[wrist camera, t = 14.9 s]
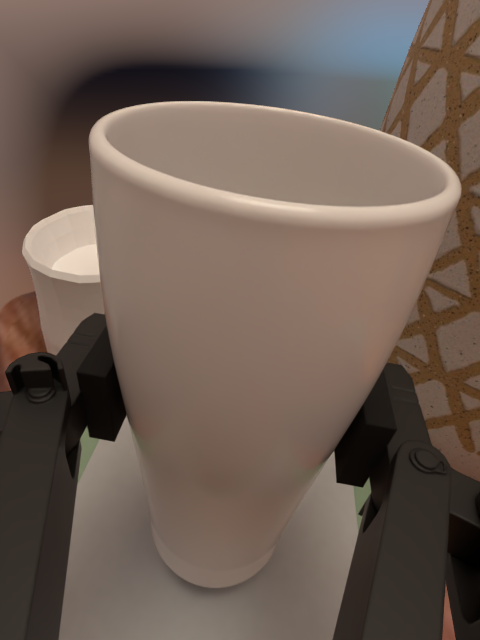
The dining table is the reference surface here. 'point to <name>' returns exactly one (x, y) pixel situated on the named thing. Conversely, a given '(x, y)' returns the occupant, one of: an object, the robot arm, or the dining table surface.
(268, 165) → the drinking glass
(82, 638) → the scale
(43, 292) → the cup
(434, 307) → the vase
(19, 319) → the dining table surface
